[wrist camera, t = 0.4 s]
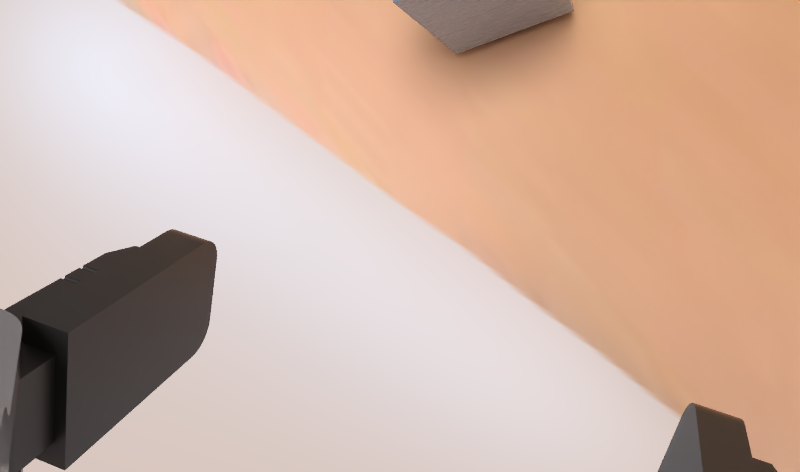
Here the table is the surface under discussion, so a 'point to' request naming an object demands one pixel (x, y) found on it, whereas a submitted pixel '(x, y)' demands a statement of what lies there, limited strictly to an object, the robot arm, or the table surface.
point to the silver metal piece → (480, 18)
